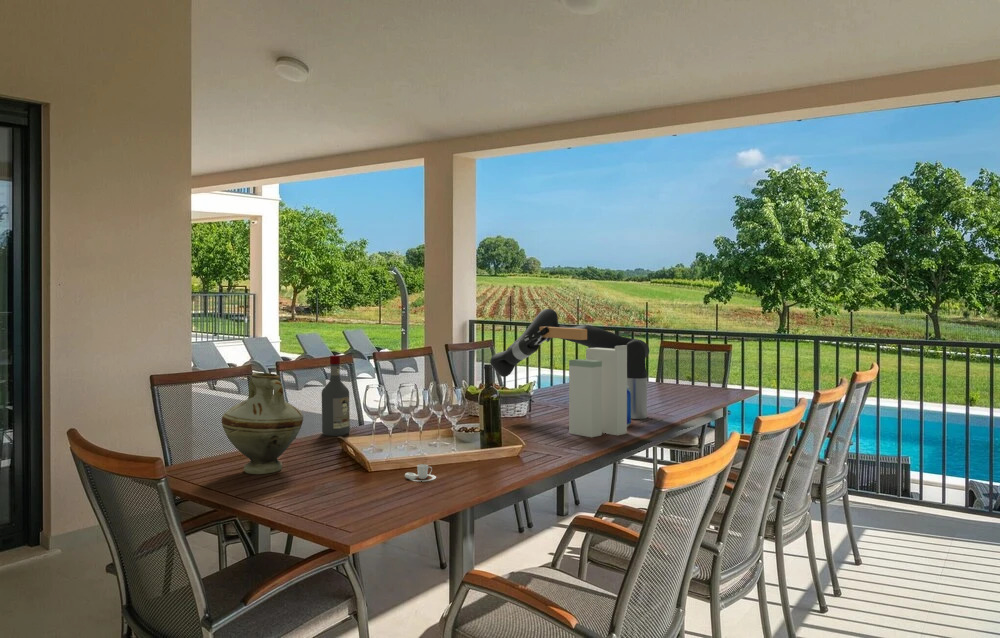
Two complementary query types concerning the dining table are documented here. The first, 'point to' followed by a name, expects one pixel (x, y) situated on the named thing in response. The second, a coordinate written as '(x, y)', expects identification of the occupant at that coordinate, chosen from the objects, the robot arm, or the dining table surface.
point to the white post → (612, 387)
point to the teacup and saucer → (420, 473)
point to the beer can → (628, 406)
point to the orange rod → (566, 333)
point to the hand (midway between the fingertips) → (551, 328)
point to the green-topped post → (585, 397)
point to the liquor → (335, 403)
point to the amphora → (263, 424)
